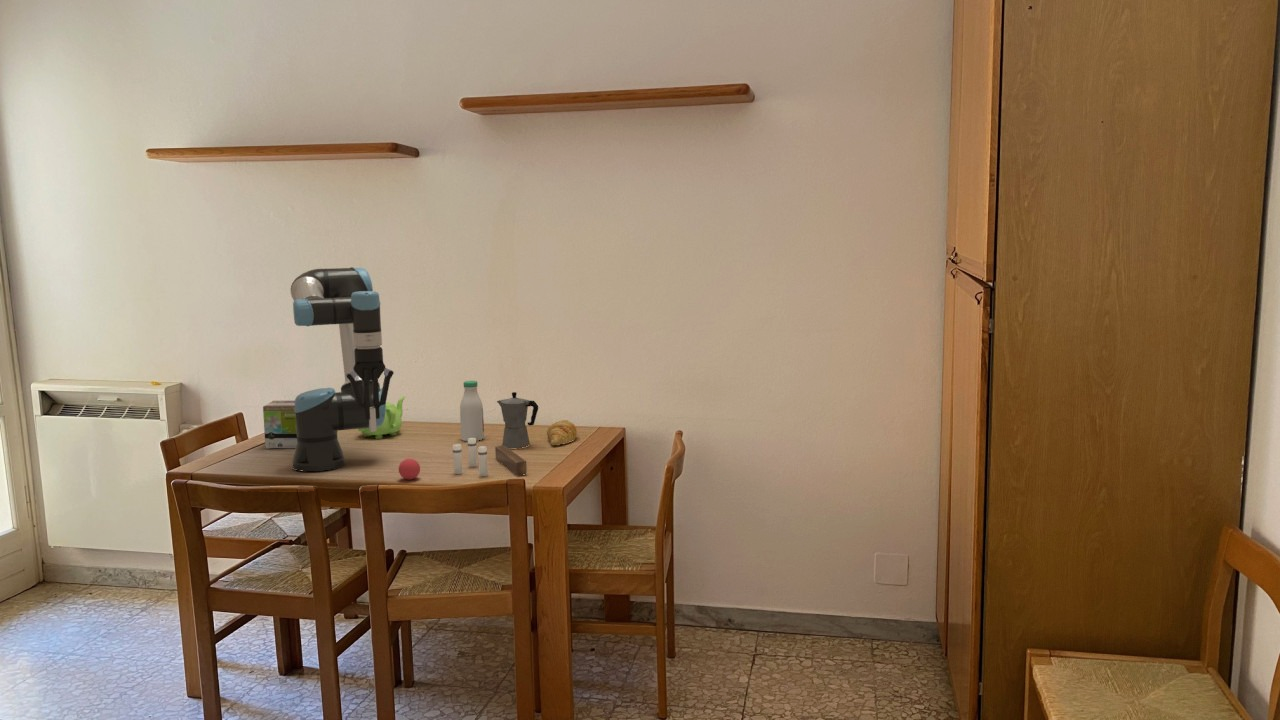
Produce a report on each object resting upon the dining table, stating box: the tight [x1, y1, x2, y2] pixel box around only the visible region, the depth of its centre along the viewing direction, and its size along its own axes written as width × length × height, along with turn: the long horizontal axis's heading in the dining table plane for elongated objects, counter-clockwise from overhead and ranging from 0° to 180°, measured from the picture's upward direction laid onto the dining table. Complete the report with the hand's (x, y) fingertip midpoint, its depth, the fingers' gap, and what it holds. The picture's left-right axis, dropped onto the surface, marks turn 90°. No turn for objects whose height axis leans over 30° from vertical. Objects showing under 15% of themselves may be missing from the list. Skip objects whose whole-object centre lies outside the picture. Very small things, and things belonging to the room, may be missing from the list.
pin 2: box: [477, 445, 489, 478], centre depth 270 cm, size 3×3×8 cm
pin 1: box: [467, 438, 478, 468], centre depth 281 cm, size 3×3×8 cm
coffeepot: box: [496, 391, 539, 449], centre depth 304 cm, size 15×9×18 cm, turn 66°
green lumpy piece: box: [357, 396, 406, 440], centre depth 325 cm, size 16×14×13 cm
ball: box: [398, 458, 421, 480], centre depth 267 cm, size 6×6×6 cm
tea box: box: [262, 400, 297, 450], centre depth 310 cm, size 15×10×15 cm
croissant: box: [546, 419, 578, 446], centre depth 313 cm, size 21×10×8 cm, turn 171°
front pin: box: [452, 443, 463, 475], centre depth 273 cm, size 3×3×8 cm
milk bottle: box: [459, 380, 485, 442], centre depth 315 cm, size 8×8×20 cm
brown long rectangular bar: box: [495, 445, 528, 476], centre depth 280 cm, size 3×22×4 cm, turn 25°
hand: (373, 430), depth 261 cm, fingers closed
